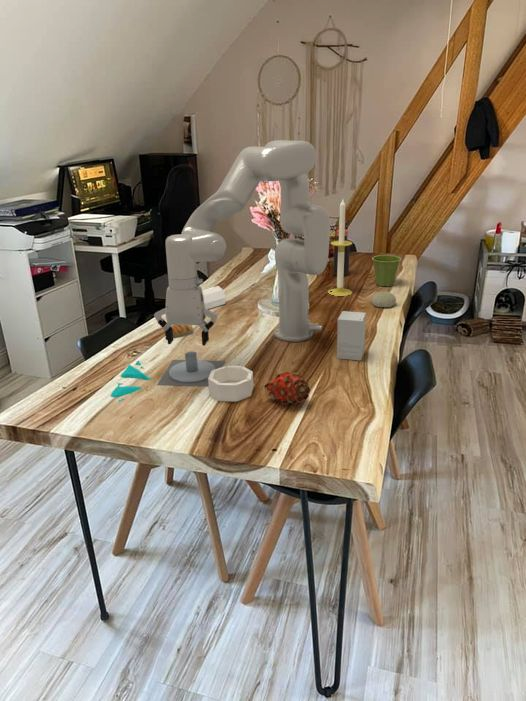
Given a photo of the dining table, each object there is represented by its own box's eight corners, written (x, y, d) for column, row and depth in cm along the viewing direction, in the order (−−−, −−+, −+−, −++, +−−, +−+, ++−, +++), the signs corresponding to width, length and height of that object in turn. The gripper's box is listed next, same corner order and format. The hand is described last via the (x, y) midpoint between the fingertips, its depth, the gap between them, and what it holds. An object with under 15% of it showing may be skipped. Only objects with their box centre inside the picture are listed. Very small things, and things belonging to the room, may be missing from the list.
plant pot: (402, 282, 220) (405, 256, 216) (393, 290, 211) (395, 263, 207) (376, 279, 226) (378, 253, 222) (366, 286, 217) (367, 259, 213)
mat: (225, 362, 154) (225, 360, 153) (214, 387, 139) (214, 386, 139) (172, 360, 155) (172, 359, 155) (156, 386, 141) (156, 384, 141)
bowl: (255, 382, 141) (254, 366, 139) (249, 403, 131) (248, 385, 129) (215, 381, 142) (214, 365, 140) (206, 401, 132) (205, 384, 130)
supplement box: (364, 351, 158) (367, 312, 153) (360, 361, 151) (363, 321, 146) (340, 348, 160) (342, 310, 155) (335, 358, 154) (337, 318, 148)
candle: (357, 293, 209) (362, 197, 193) (338, 298, 204) (342, 200, 188) (340, 287, 216) (343, 194, 201) (322, 292, 211) (324, 197, 196)
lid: (219, 363, 152) (217, 344, 150) (210, 383, 141) (208, 364, 138) (176, 362, 154) (174, 344, 151) (163, 382, 142) (161, 363, 140)
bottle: (333, 272, 237) (334, 228, 229) (348, 272, 236) (350, 228, 228) (333, 277, 231) (334, 231, 223) (348, 277, 230) (350, 231, 222)
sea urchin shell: (368, 303, 192) (372, 284, 194) (370, 312, 199) (374, 294, 201) (393, 305, 189) (397, 286, 191) (394, 315, 196) (398, 296, 198)
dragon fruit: (312, 412, 129) (268, 410, 134) (317, 382, 133) (274, 381, 138) (302, 397, 122) (256, 396, 127) (308, 366, 126) (263, 366, 131)
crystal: (179, 310, 185) (232, 295, 199) (169, 297, 188) (221, 283, 202) (175, 325, 190) (227, 308, 205) (165, 311, 193) (217, 296, 207)
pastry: (172, 341, 170) (170, 330, 169) (161, 335, 175) (160, 325, 173) (195, 333, 176) (194, 322, 174) (184, 328, 180) (183, 318, 179)
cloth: (135, 410, 131) (134, 402, 130) (86, 405, 134) (84, 398, 133) (172, 365, 154) (172, 358, 153) (130, 362, 157) (129, 355, 156)
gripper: (218, 279, 139) (221, 339, 145) (155, 278, 141) (161, 337, 147) (212, 287, 132) (215, 349, 139) (146, 286, 134) (153, 347, 140)
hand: (187, 343), depth 143 cm, fingers open, 9 cm apart
